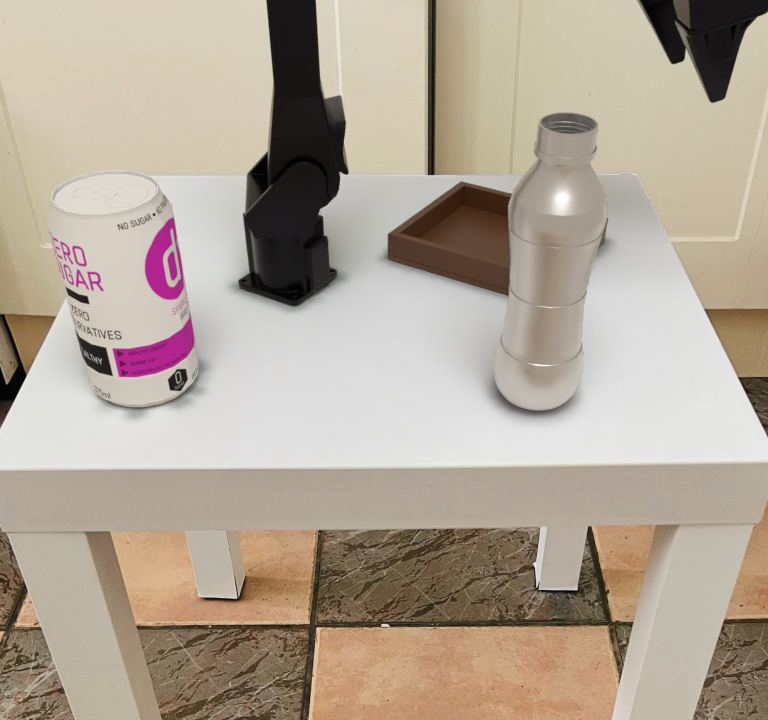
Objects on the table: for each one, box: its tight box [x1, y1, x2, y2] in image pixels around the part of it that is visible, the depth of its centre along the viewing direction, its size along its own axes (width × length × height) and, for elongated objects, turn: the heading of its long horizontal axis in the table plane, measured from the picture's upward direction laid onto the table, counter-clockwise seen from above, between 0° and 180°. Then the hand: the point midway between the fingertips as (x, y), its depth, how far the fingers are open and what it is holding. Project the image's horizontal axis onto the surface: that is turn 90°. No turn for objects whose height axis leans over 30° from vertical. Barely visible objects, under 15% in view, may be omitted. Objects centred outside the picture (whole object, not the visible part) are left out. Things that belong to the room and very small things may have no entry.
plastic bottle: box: [493, 111, 609, 411], centre depth 62 cm, size 6×7×20 cm
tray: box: [387, 180, 609, 296], centre depth 85 cm, size 16×14×2 cm
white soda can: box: [46, 169, 200, 408], centre depth 66 cm, size 8×8×15 cm
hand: (696, 80), depth 73 cm, fingers open, 9 cm apart
